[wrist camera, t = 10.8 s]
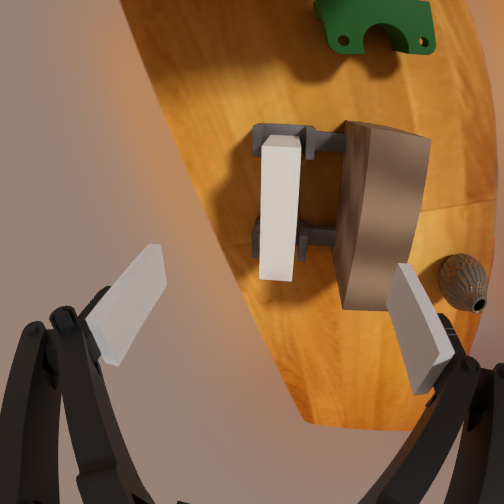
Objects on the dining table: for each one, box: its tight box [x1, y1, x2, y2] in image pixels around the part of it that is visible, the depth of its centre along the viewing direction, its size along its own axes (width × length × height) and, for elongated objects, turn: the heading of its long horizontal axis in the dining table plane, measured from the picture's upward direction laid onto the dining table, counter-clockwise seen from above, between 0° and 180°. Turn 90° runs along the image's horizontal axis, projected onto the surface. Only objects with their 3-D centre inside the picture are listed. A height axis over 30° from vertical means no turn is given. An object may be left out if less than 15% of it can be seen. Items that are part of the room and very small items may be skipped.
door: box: [258, 135, 301, 282], centre depth 28 cm, size 12×4×9 cm, turn 0°
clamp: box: [313, 0, 436, 55], centre depth 20 cm, size 12×6×9 cm, turn 96°
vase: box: [439, 253, 488, 313], centre depth 30 cm, size 7×7×9 cm
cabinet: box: [252, 120, 431, 311], centre depth 27 cm, size 16×14×11 cm
